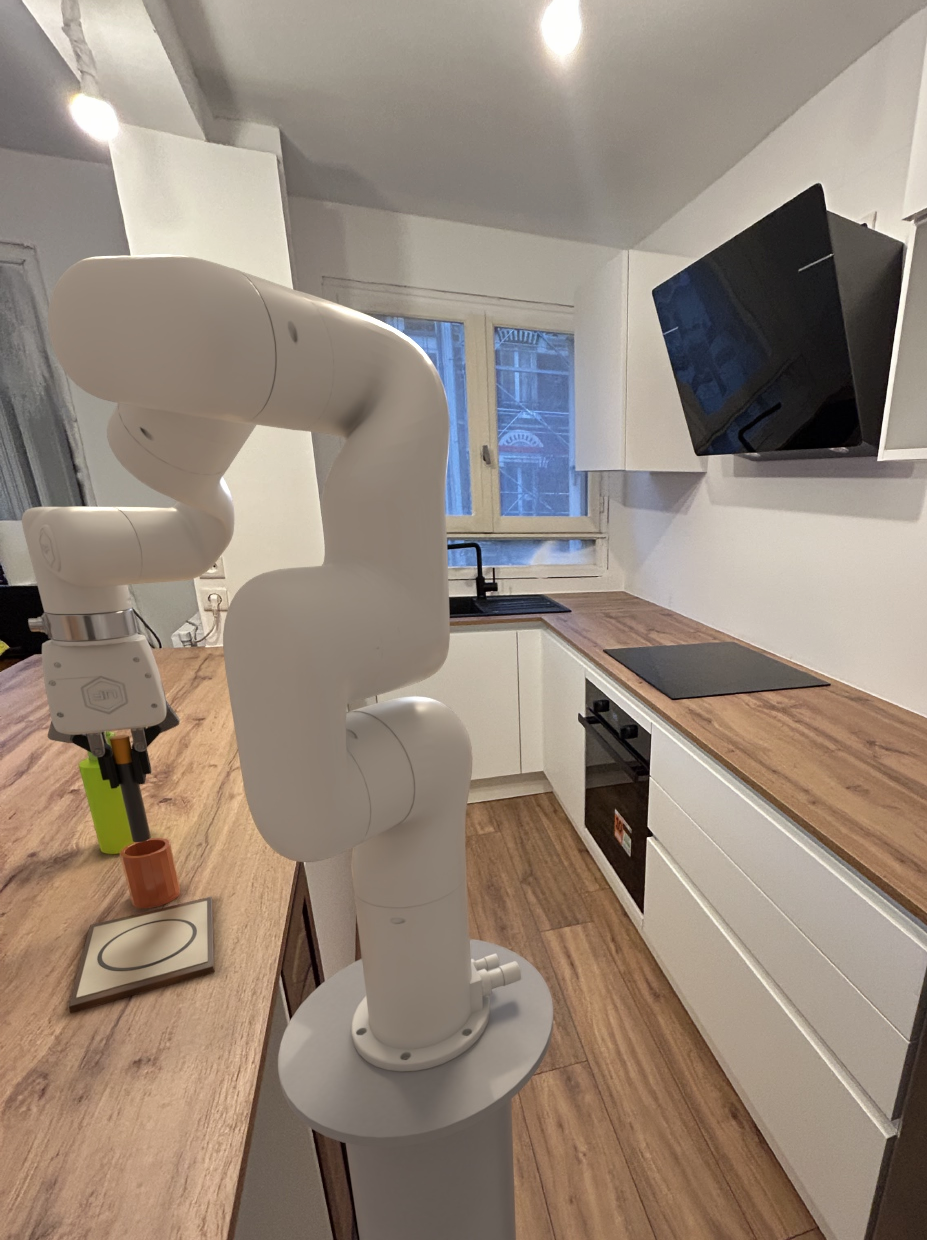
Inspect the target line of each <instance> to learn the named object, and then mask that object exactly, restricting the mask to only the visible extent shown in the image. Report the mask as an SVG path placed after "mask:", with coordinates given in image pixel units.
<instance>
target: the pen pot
mask: <svg viewBox="0 0 927 1240" xmlns="http://www.w3.org/2000/svg"><path fill="white" fill-rule="evenodd" d="M119 857H120V861H121V865H122V869H123V873H124V877H125V881H126V885H127V890H128V895H129V897H130V901H131V903H132V904H131V905H132V906H133V907H134V908H137V909H151V908H153V909H154V908H157V907H160V906H164V905H166V904H169V903H170V902H172V901H174V900H175V899H177V898H178V897H179V896H180V894H181V887H180V881H179V876H178V872H177V867H176V862H175V858H174V853H173V850H172V844H171V841H170V840H169V839H167V838H164V837H151V838H150V839H149V840H146V841H143V842H134V843H132V844H130V845H128V846H126V847H124V848H123V849H122V850H121V851H120V853H119Z"/></svg>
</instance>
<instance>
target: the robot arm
mask: <svg viewBox="0 0 927 1240" xmlns="http://www.w3.org/2000/svg"><path fill="white" fill-rule="evenodd" d="M47 326H48V327H47V328H48V335H49V339H50V342H51V346H52V350H53V352H54V354H55V357H56V359H57V361H58V363H59V365H60V367H61V368H62V370H63V371H64V373H65V374H66V376H67V377H68V378H69V379H70V380H71V381H72V382H73V383H74V384H75V385H76V386H77V387H79V388H80V389H81V390H83V391H84V392H85V393H87V394H89V395H91V396H93V397H96V398H97V399H99V400H104V401H108V402H112V403H116V406H115V408H114V410H113V411H112V413H111V415H110V417H109V419H108V423H107V427H106V438H107V442H108V445H109V448H110V449H111V452H112V453H113V455H114V456H115V458H116V460H117V461H118V462H119V463H120V465H121V466H122V467H123V468H124V469H125V470H126V471H127V472H128V473H129V474H131V475H132V476H133V477H134V478H135V479H137V481H139V482H141V483H142V484H144V485H145V486H147V487H149V488H150V489H152V490H154V491H156V492H158V493H159V494H162V495H164V496H166V497H168V498H170V499H173V500H175V501H176V502H175V504H173V505H172V506H170V507H152V506H82V505H81V506H79V505H78V506H76V505H75V506H37V507H31V508H28V509H26V510H25V511H24V512H23V514H22V516H21V525H22V530H23V534H24V538H25V543H26V546H27V550H28V553H29V558H30V561H31V566H32V569H33V573H34V578H35V580H36V585H37V588H38V593H39V596H40V601H41V604H42V608H43V613H42V615H41V616H37V618H34V617H33V618H28V619H27V620H28V621H27V622H28V627H29V631H31V632H40V633H45V635H47V638H48V639H49V640H46V641H45V642H43V643H42V644H41V664H42V665H41V666H42V672H43V680H44V681H43V682H44V687H45V692H46V698H47V703H48V708H49V714H50V718H51V720H50V724H49V729H48V732H47V739H48V740H50V741H54V742H60V743H66V744H73V745H75V746H78V747H79V748H81V749H83V750H85V751H86V752H87V751H89V752H91V753H92V755H93V756H95V757H97V759H98V763H99V767H100V771H101V776H102V779H103V780H109V782H110V786H111V789H113V788H117V787H119V785H120V782H119V778H118V773H117V769H116V764H115V760H114V755H113V752H112V748H111V746H110V745H109V744H108V743H107V739H106V735H105V732H107V731H109V732H113V731H115V732H116V731H125V730H130V733H131V739H132V743H131V748H132V751H131V754H130V755H131V760H132V764H133V769H134V773H135V778H136V782H137V784H139V785H140V786H141V785H145V784H146V780H147V775H151V774H152V766H151V762H150V757H149V756H150V755H149V752H148V747H149V746H150V745H151V744H152V743H153V742H154V740H156V738H158V737H159V735H160V734H163V733H165V732H167V731H170V730H172V729H175V728H176V727H178V726H180V720H181V718H180V716H178V714H177V713H176V712H175V710H174V709H173V707H172V706H171V705H170V704H169V702H168V701H167V697H166V692H165V689H164V686H163V682H162V677H161V674H160V671H159V667H158V663H157V661H156V658H155V656H154V653H153V650H152V648H151V646H150V643H149V641H148V639H147V637H146V636H145V635H144V634H139V633H138V627H137V623H136V618H135V617H136V616H135V612H134V608H133V604H132V599H131V594H130V589H129V586H131V585H141V584H143V585H144V584H155V583H157V584H158V583H169V582H183V581H190V580H193V579H196V578H198V577H201V576H202V575H204V574H205V573H207V572H208V571H209V570H210V569H211V568H212V567H213V566H215V564H216V563H217V562H218V560H219V559H220V557H221V556H222V555H223V553H224V552H226V550H227V548H228V547H229V545H230V543H231V541H232V540H233V536H234V532H235V506H234V500H233V497H232V494H231V491H230V488H229V486H228V484H227V481H226V480H225V478H224V477H223V476H224V475H225V474H226V472H227V471H228V469H229V468H230V467H231V464H232V463H233V462H234V460H235V459H236V458H237V456H238V454H239V453H240V451H241V449H242V448H243V446H244V445H245V443H246V442H247V440H248V439H249V437H250V436H251V434H252V433H253V431H254V430H255V428H256V427H257V426H263V427H270V428H277V429H284V430H291V431H300V432H301V431H302V432H310V433H316V434H317V433H318V434H325V435H330V436H331V435H332V436H336V437H340V438H342V439H344V440H345V441H344V442H343V444H342V446H341V447H340V448H339V450H338V451H337V454H335V457H334V459H333V460H332V462H331V464H330V467H329V470H328V473H327V475H326V478H325V481H324V483H323V488H322V493H321V500H320V501H321V502H320V506H321V507H320V508H321V509H320V511H321V512H320V513H321V520H322V521H321V522H322V529H323V540H324V544H323V545H324V557H323V563H322V564H321V565H315V566H300V567H287V568H286V567H285V568H278V569H273V570H270V571H266V572H263V573H260V574H258V575H255V576H254V577H252V578H251V579H248V580H247V581H246V582H245V583H244V584H242V586H240V588H239V589H237V591H236V592H235V594H234V595H233V597H232V599H231V601H230V603H229V606H228V609H227V612H226V615H225V619H224V623H223V631H222V649H223V657H224V658H223V660H224V668H225V675H226V682H227V688H228V694H229V695H228V696H229V700H230V701H229V702H230V708H231V714H232V720H233V726H234V734H235V741H236V746H237V747H236V748H237V753H238V760H239V766H240V771H241V778H242V784H243V790H244V794H245V799H246V802H247V806H248V810H249V812H250V815H251V818H252V821H253V822H254V825H255V827H256V829H257V831H258V833H259V834H260V836H261V837H262V839H263V840H264V842H265V843H266V844H267V845H268V846H269V847H270V848H271V849H272V850H273V851H274V852H276V854H278V855H280V856H281V857H283V858H286V859H287V860H290V861H293V862H298V863H316V862H320V861H324V860H328V859H332V858H333V857H335V856H338V855H340V854H343V853H345V852H347V851H349V850H351V849H352V854H351V865H350V866H351V867H350V868H351V869H350V870H351V881H352V889H353V897H354V906H355V915H356V924H357V931H358V939H359V940H358V941H359V949H360V954H361V955H360V957H361V958H362V966H363V974H364V982H365V991H366V996H365V997H364V999H363V1000H362V1001H361V1003H360V1004H359V1005H358V1007H357V1009H356V1011H355V1013H354V1015H353V1019H352V1024H351V1029H352V1038H353V1043H354V1046H355V1048H356V1050H357V1052H358V1053H359V1054H360V1055H361V1056H362V1057H363V1058H364V1059H365V1060H366V1061H367V1062H369V1063H371V1064H372V1065H374V1066H376V1067H380V1068H383V1069H386V1070H392V1071H400V1072H402V1071H418V1070H423V1069H428V1068H432V1067H435V1066H438V1065H441V1064H444V1063H446V1062H448V1061H450V1060H452V1059H454V1058H456V1057H457V1056H459V1055H460V1054H462V1053H463V1052H465V1051H466V1050H467V1049H468V1048H470V1047H471V1046H472V1045H473V1044H474V1043H475V1042H476V1041H477V1040H478V1038H479V1037H480V1036H481V1034H482V1033H483V1032H484V1030H485V1027H486V1025H487V1023H488V1020H489V1015H490V1000H489V995H490V994H491V993H492V989H494V988H497V987H500V986H506V985H509V984H511V983H514V982H517V981H520V980H521V971H520V968H519V965H518V963H517V962H516V961H514V962H511V963H508V964H505V965H502V966H499V959H498V956H497V954H496V953H495V954H492V955H490V956H487V957H484V958H483V959H480V960H477V961H474V959H471V952H470V939H471V937H470V936H471V935H470V933H471V932H470V918H469V915H470V914H469V900H468V899H469V897H468V896H469V895H468V881H467V879H468V877H467V873H468V871H467V853H466V851H467V850H466V849H467V848H466V821H467V820H466V819H467V811H468V810H467V809H468V801H469V797H470V796H469V795H470V788H471V782H472V776H473V760H474V759H473V746H472V742H471V738H470V734H469V731H468V729H467V728H466V725H465V723H464V722H463V720H462V719H461V718H460V716H459V715H458V714H457V713H456V711H454V710H453V709H452V708H451V707H450V706H448V705H447V704H445V703H444V702H442V701H439V700H437V699H435V698H430V697H426V696H419V695H418V696H417V695H412V696H400V697H395V698H390V699H387V700H383V701H380V702H376V703H373V704H369V705H366V706H362V707H359V708H355V709H352V710H349V711H347V710H348V705H349V704H352V703H355V702H359V701H362V700H365V699H370V698H374V697H376V696H380V695H383V694H386V693H390V692H394V691H397V690H400V689H403V688H407V687H410V686H412V685H415V684H419V683H420V682H422V681H424V680H427V679H429V678H431V677H432V676H434V675H435V674H436V673H438V672H439V671H440V670H441V669H442V668H443V666H444V664H445V663H446V660H447V658H448V655H449V650H450V640H451V638H450V637H451V623H450V620H451V619H450V618H451V617H450V589H449V586H450V585H449V559H448V556H449V555H448V537H447V536H448V534H447V522H446V521H447V520H446V486H447V475H448V474H447V473H448V462H449V451H450V433H451V431H450V430H451V429H450V427H451V425H450V422H451V421H450V411H449V410H450V408H449V402H448V397H447V393H446V389H445V386H444V384H443V380H442V379H441V375H440V374H439V371H438V369H437V368H436V366H435V364H434V363H433V361H432V360H431V358H430V357H429V355H428V354H427V353H426V352H425V350H423V348H422V347H421V346H419V344H417V343H416V342H415V341H414V340H413V339H412V338H410V337H409V336H407V335H406V334H405V333H403V332H402V331H401V330H399V329H397V328H395V327H394V326H392V325H390V324H388V323H386V322H383V320H382V321H381V320H379V319H377V318H375V317H372V316H371V315H368V314H365V313H363V312H361V311H359V310H356V309H353V308H350V307H348V306H345V305H342V304H340V303H336V302H334V301H331V300H328V299H325V298H322V297H319V296H317V295H313V294H310V293H307V292H303V291H300V290H296V289H293V288H291V287H288V286H284V285H282V284H279V283H276V282H273V281H270V280H267V279H265V278H261V277H258V276H256V275H253V274H250V273H248V272H245V271H242V270H239V269H236V268H233V267H229V266H227V265H223V264H220V263H217V262H214V261H211V260H206V259H203V258H198V257H194V256H188V255H180V254H149V255H148V254H145V255H106V256H105V255H102V256H91V257H87V258H84V259H83V258H82V259H81V260H79V261H76V263H74V264H72V265H70V266H69V267H68V268H67V269H66V270H65V271H64V272H63V273H62V274H61V276H60V277H59V279H58V280H57V282H56V283H55V285H54V287H53V290H52V292H51V294H50V299H49V303H48V308H47ZM497 967H498V968H497ZM494 968H497V969H494ZM491 969H494V970H491ZM488 970H491V971H488ZM487 971H488V972H487Z"/></svg>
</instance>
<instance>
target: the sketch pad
mask: <svg viewBox="0 0 927 1240" xmlns="http://www.w3.org/2000/svg"><path fill="white" fill-rule="evenodd" d="M213 900H214V899H213V897H212V896H209V897H204V898H200V899H195V900H190V901H187V902H183V903H178V904H177V903H176V904H174V905H169V906H166V907H165V906H164V907H161V908H157V909H152V910H148V911H143V912H140V913H139V912H138V913H134V914H131V915H125V916H122V917H118V918H113V919H109V920H105V921H104V920H103V921H100V922H97V923H92V924H90V925H89V928H88V933H87V936H86V940H85V943H84V947H83V951H82V955H81V957H80V958H81V959H80V962H79V967H78V970H77V973H76V976H75V981H74V985H73V987H72V988H73V989H72V992H71V995H70V1000H69V1003H68V1010H69V1013H71V1014H72V1013H76V1012H79V1011H83V1010H85V1009H89V1008H93V1007H97V1006H100V1005H103V1004H104V1005H105V1004H107V1003H111V1002H114V1001H117V1000H121V999H125V998H128V997H132V996H135V995H139V994H142V993H146V992H149V991H153V990H156V989H160V988H163V987H167V986H170V985H174V984H178V983H180V982H181V983H182V982H185V981H187V980H188V981H189V980H192V979H195V978H199V977H203V976H205V975H209V974H213V973H215V971H216V970H215V938H214V937H215V935H214V932H215V931H214V901H213Z"/></svg>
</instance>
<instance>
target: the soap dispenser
mask: <svg viewBox="0 0 927 1240" xmlns="http://www.w3.org/2000/svg"><path fill="white" fill-rule="evenodd" d="M105 735H106V739H107V743H108V744H109V745H110V746H111V743H110V738H111V737H114V736H116V734H115V732H113V731H107V732H105ZM111 748H112V747H111ZM86 752H87V756H88V757H87V758H84V759H82V760H80V762H78V768H79V772H80V776H81V780H82V784H83V788H84V791H85V795H86V800H87V803H88V806H89V807H88V808H89V811H90V814H91V819H92V823H93V826H94V830H95V833H96V837H97V841H98V846H99V849H100V852H102V853H103V854H108V855H115V854H116V855H117V854H119V855H120V851H121V850H122V849H123V848H124V847H126V846H128V845H130V844H132V843H134V842H133V840H132V835H131V831H130V827H129V822H128V818H127V813H126V809H125V805H124V800H123V796H122V791H121V787H120V785H119V787H117V788H113V789H111V786H110V782H109V780H103V779H102V776H101V771H100V767H99V763H98V759H97V757H95V756H93V755H92V753H91V752H89V751H87V750H86Z"/></svg>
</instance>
